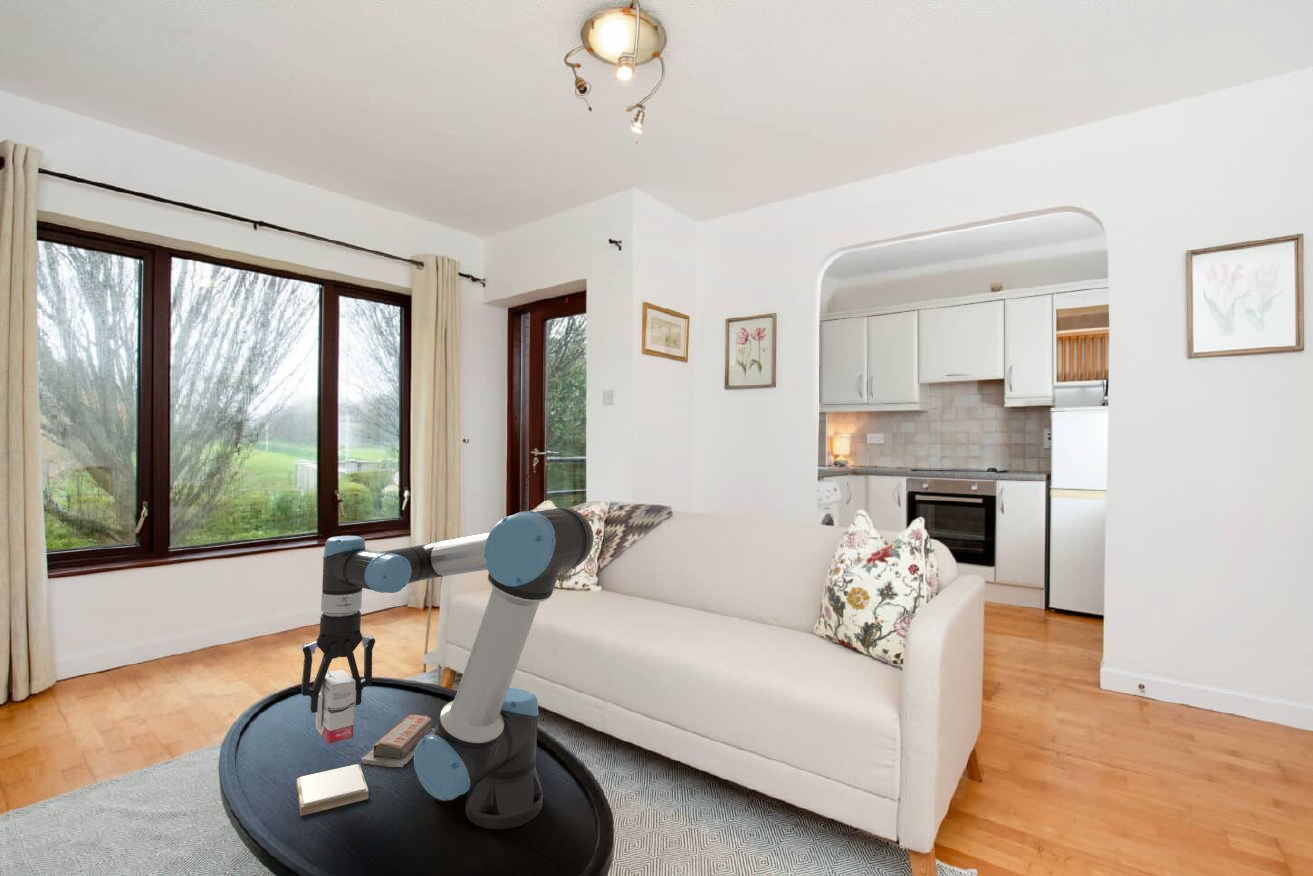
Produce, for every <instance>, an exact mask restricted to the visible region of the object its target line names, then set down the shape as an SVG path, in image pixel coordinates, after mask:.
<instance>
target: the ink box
mask: <svg viewBox="0 0 1313 876" xmlns="http://www.w3.org/2000/svg"><path fill="white" fill-rule="evenodd" d="M355 685H356V681H355V680H354V679H353V677H352V675H350V674H349V673H348V672H347V671H346V670H344V669H338V670H337V669H336V670H332V671H331V670H330V671H327V673H326V676H325V679H324V681H323V684H322V687H321V690H320V692H321V693H322V697H323V699H322V718H321V729H319V730H317V731H318V733H319V734H320V735H321V736H322V738H324V741H326V743H327V744H328V745H329V744H333V743H337V742H341V741H345V740H348V739H351V738H353V737H354V724H355V723H354V704H355Z"/></svg>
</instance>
